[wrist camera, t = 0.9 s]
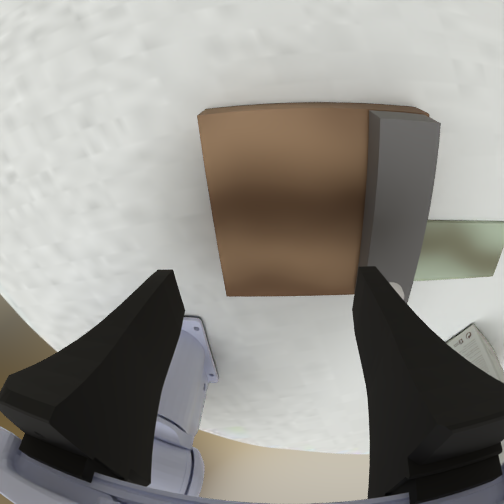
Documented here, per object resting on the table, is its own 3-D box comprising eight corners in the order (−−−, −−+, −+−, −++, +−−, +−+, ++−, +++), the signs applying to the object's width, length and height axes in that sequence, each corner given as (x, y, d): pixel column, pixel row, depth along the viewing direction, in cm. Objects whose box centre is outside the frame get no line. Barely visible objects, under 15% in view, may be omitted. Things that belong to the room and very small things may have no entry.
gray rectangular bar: (397, 291, 20) (405, 316, 18) (354, 292, 20) (360, 319, 18) (423, 114, 13) (444, 125, 11) (369, 110, 14) (383, 120, 12)
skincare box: (426, 353, 27) (458, 492, 15) (475, 318, 24) (527, 458, 12) (455, 377, 30) (483, 490, 17) (497, 349, 27) (536, 462, 14)
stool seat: (491, 274, 21) (501, 289, 19) (231, 283, 24) (227, 301, 22) (528, 127, 14) (545, 136, 12) (205, 109, 17) (197, 115, 15)
